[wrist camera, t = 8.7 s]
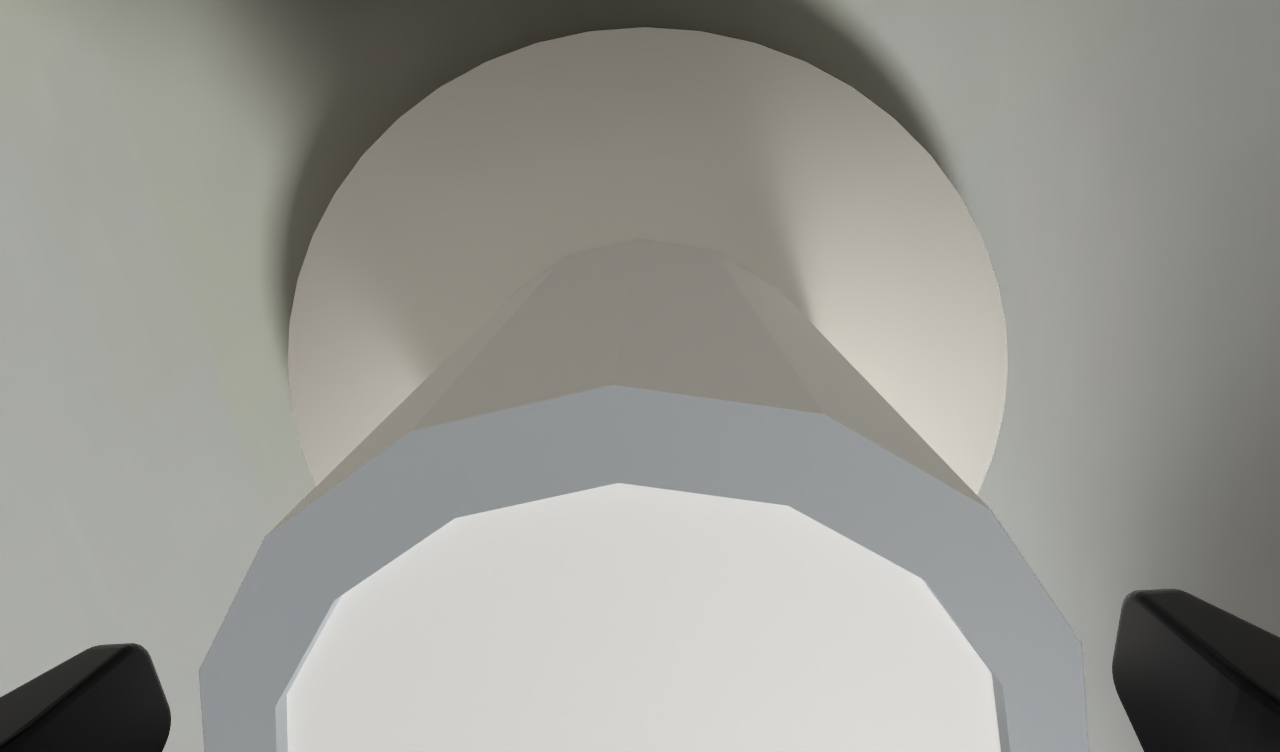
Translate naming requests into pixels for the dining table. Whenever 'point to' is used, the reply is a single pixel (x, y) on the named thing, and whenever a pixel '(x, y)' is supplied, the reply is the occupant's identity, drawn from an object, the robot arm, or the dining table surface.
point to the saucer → (648, 225)
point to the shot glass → (643, 552)
